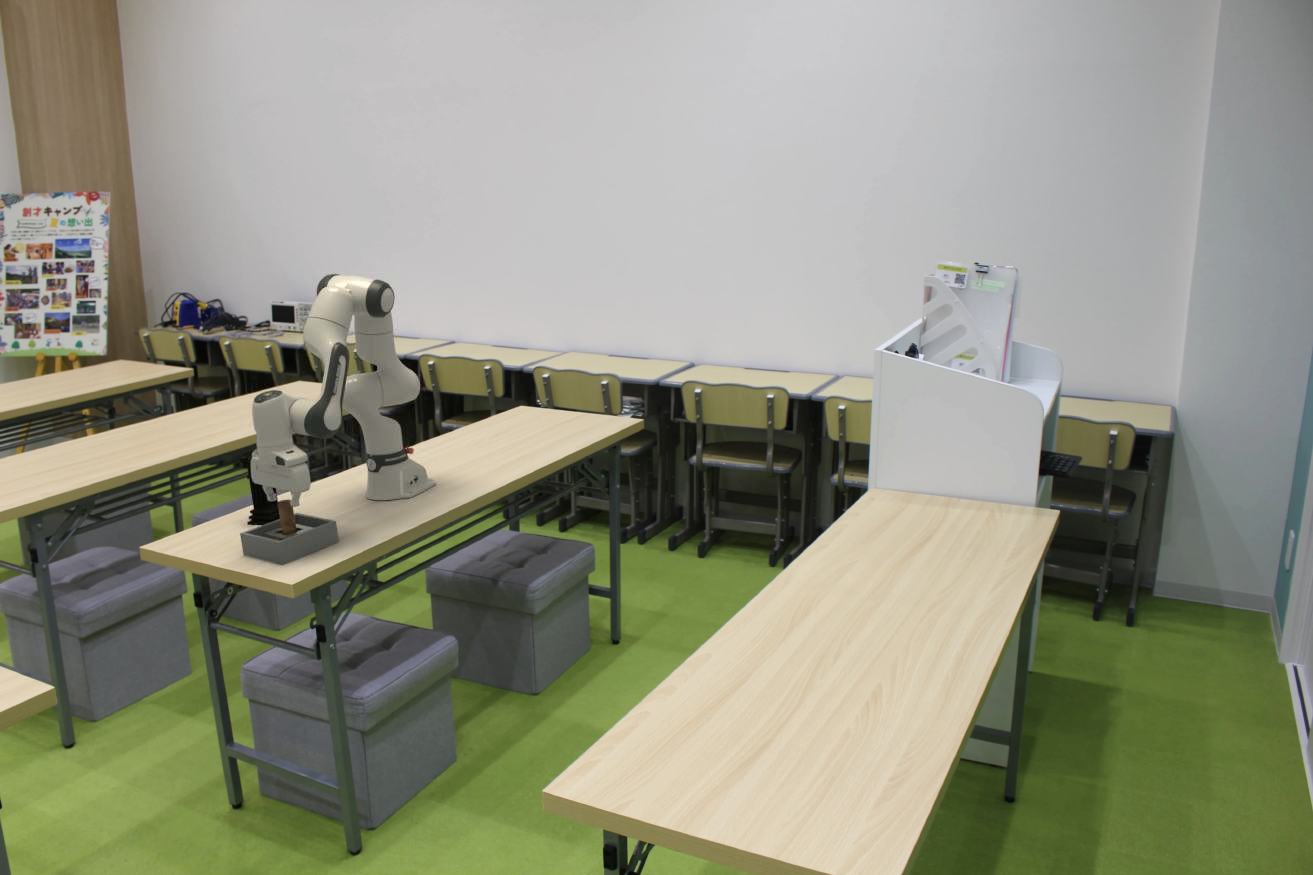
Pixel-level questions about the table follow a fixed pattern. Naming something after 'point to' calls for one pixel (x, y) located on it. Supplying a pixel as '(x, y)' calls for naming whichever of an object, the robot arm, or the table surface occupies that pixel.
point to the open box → (289, 540)
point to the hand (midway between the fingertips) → (283, 503)
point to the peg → (286, 517)
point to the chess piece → (260, 500)
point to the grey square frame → (279, 536)
